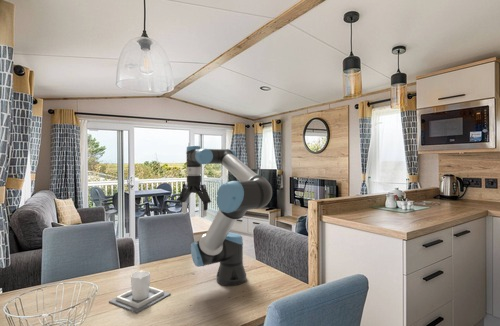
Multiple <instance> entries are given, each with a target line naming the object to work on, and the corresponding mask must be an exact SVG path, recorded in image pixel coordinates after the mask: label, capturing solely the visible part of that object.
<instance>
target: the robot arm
mask: <svg viewBox="0 0 500 326" xmlns="http://www.w3.org/2000/svg"><path fill="white" fill-rule="evenodd" d="M185 154H186V183H183V184H182V188H181V191H180V194H179V197H178V202H179V201H180V203H181V205H180V206H181V209H182V210H181V212H182V215H186V214H188V203H187V200H188V198H189V197H190V195H191V194H192V193H193V194H196V195H197V196H198V197H199V199H200V200H201V202H202V204H201V216H202V218H204V217H207V216H208V215H207V212H208V211H207V210H208V208H209V207H208V204H209V203H211V197H210V195H209V193H208V191H207V186H206V184H202V175H201V174H202V165H213V164H214V165H219V164H220V165H222V166H223V167H224V168H225V169H226V170H227V171H228V172H230V174H231V175H233V176H234V177H235V178H236V180H231V181H226V182H224V183H222V184H221V185H219V188H218V190H217V193H216V195H217V196H216V204H217V207H218V212H217V213H216V214H215V216H214V219H213V221H212V222H211V224H210V226H209V227H208V230H207V231H206V233H204V234H202V235H201V236H200V238H199V240H198V241H193V242H192V243H191V244H190V255H191V258H192V259H191V260H192V262H193V264H194V265H195V267H198V268H199V267H200V268H201V267H205V266H209V265H214V264H218V263H219V267H218V269H217V273H216V282H217V283H218V284H220V285H221V286H222V285H223V286H230V287H231V286H238V285H241V284H244V283H245V282H246V281H247V273H246V270H245V267H244V264H243V263H244V261H243V260H244V256H243V255H244V253H243V252H244V251H243V249H244V248H243V247H244V241H243V236H242V235H241V234H239V233H236V232H235V233H234V232H231V230H232V228H233V227H234V226H235V224H236V222H237V220H241V219H243V217H245V215H246V213H247V211H251V210H258V209H262V208H265V207H266V206H267V205H268V204H269V203H270V201H271V199H272V197H273V187H272V185H271V184H270V182H269V180H267V179H266V177H264V176H263V175H261V174H257V173H256V172H254V171H253V170H252V169H251V168H250V167H249V166H248V165H246V164H245V163H244V162H242V161H241V160H240V159H239V158H238V157H237V153H236V151H235V150H233V149H229V148H227V149H224V148H221V149H219V148H204V147H203V148H202V147H201V146H200V145H188V146H187V147H186V151H185Z"/></svg>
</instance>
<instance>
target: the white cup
mask: <svg viewBox="0 0 500 326" xmlns="http://www.w3.org/2000/svg"><path fill="white" fill-rule="evenodd" d="M150 279H151V272H150V271H148V270H139V271H136V272H133V273H132V274H131V275H130V283H131V284H130V285H131V287H130V288H131V290H132V298H133V300H143V299H146V298H147V297H148V296H149V286H150V285H151V284H150ZM150 287H151V286H150Z"/></svg>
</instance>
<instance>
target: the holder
mask: <svg viewBox="0 0 500 326" xmlns="http://www.w3.org/2000/svg"><path fill="white" fill-rule="evenodd" d="M171 295H172V293H171V292H167V291H165V290H162V289H159V288H156V287H153V286H149V296H148V297H147V298H146V299H143V300H133V298H132V289H130V290H128V291H125V292H124V293H121V294H120V295H117V296H116V297H114V298H112V299H109V301H108V303H109V304H112V305H115V306H116V307H119V308H122V309H125V310H127V311H130V312H131V313H135V314H139V313H140V312H142V311H144V310H146V309H148V308H149V307H151V306H153V305H154V304H156V303H158V302H160V301H162V300H164V299H165V298H167V297H170V296H171Z"/></svg>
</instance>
